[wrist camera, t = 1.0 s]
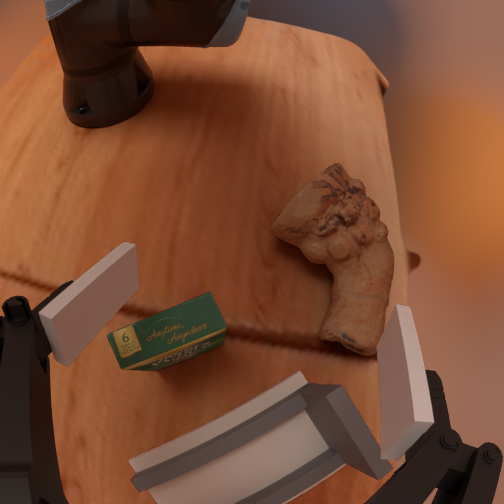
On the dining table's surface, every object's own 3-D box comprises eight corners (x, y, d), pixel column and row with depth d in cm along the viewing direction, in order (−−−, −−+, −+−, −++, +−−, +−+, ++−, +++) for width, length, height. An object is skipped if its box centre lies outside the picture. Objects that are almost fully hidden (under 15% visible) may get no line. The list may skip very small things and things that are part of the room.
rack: (131, 457, 26) (98, 488, 16) (296, 371, 32) (334, 366, 22) (193, 540, 23) (188, 593, 13) (349, 455, 29) (402, 478, 19)
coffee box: (153, 374, 30) (118, 372, 18) (142, 349, 31) (103, 330, 19) (224, 346, 32) (233, 327, 20) (213, 321, 33) (215, 287, 21)
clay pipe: (363, 230, 44) (275, 174, 40) (419, 202, 35) (324, 127, 31) (335, 360, 36) (223, 314, 32) (403, 358, 27) (273, 299, 23)
